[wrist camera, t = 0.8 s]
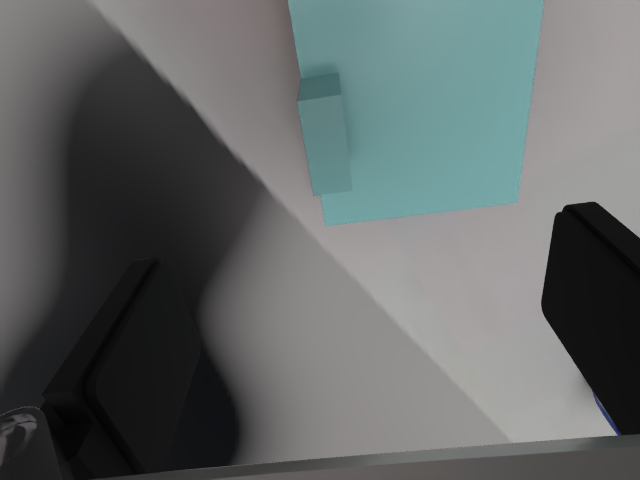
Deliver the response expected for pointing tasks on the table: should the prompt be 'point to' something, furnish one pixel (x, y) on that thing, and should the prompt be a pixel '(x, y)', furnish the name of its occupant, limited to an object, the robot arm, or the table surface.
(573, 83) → the table surface
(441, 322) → the table surface
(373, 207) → the lid
